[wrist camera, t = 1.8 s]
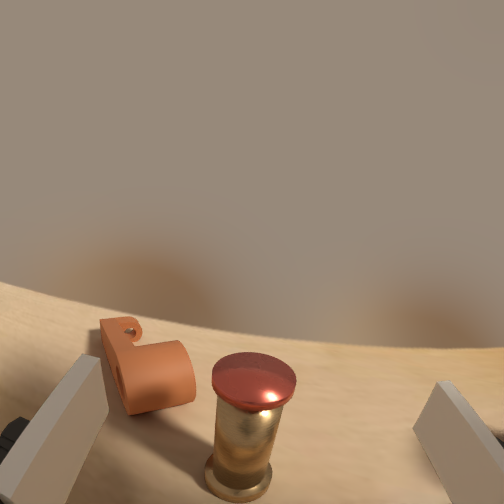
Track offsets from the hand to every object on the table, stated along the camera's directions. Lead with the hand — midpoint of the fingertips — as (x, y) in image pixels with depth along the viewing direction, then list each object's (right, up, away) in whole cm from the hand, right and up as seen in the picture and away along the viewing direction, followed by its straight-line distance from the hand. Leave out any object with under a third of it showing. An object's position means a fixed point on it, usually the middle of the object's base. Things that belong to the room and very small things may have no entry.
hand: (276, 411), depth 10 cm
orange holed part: (-16, -11, +29) cm, 35 cm away
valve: (-2, -16, +14) cm, 22 cm away
